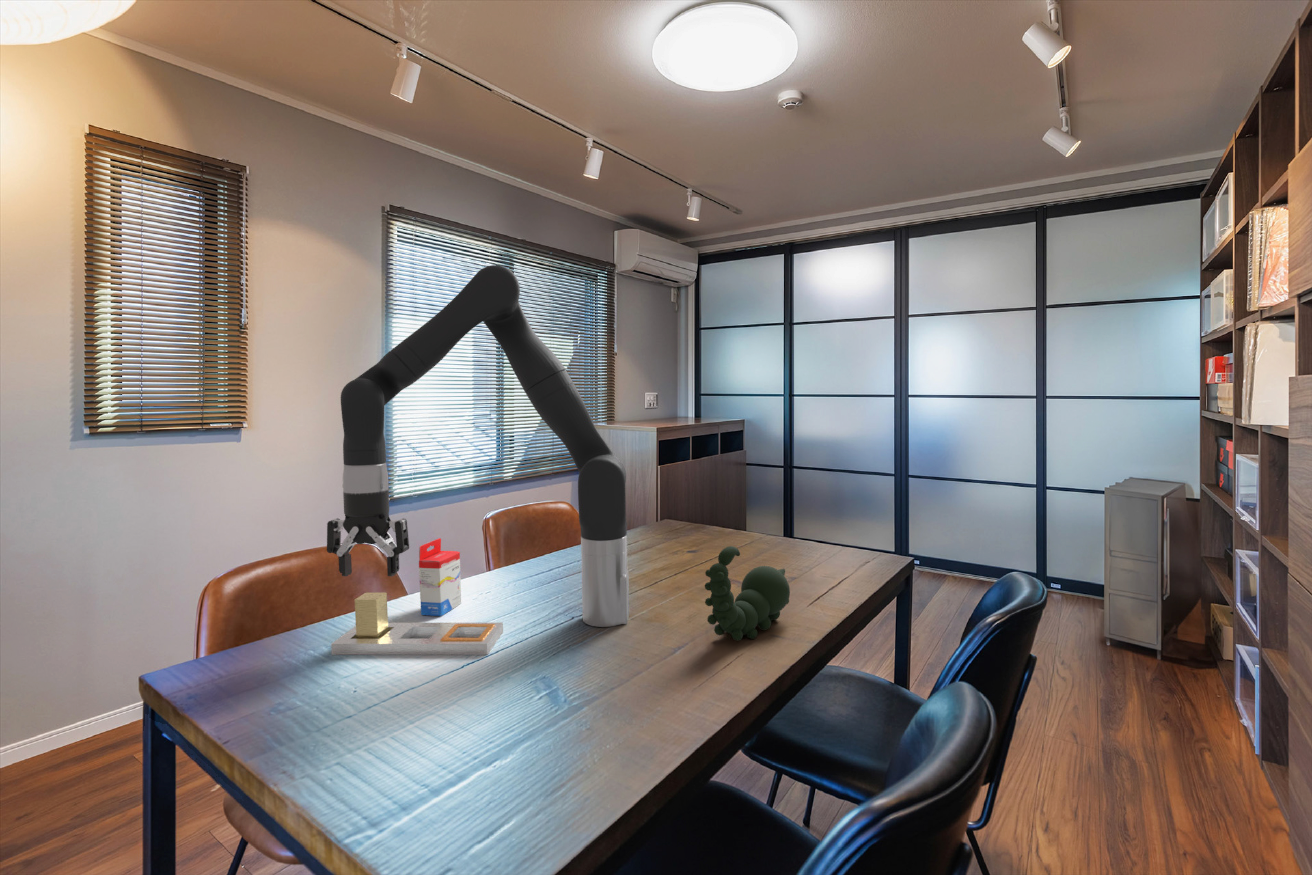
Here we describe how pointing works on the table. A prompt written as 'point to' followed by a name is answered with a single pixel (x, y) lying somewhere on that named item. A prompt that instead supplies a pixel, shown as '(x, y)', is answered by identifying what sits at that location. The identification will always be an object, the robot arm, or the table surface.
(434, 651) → the white flat slotted block
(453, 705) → the table surface
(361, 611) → the brass block
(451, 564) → the ink box
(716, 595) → the toy figurine
